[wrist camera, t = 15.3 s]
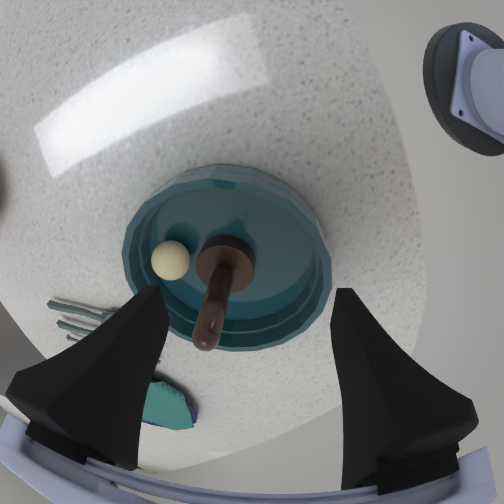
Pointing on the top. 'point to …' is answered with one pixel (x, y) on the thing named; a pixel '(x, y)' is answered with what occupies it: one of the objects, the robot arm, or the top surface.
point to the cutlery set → (159, 393)
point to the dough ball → (170, 260)
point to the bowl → (248, 230)
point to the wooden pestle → (220, 284)
